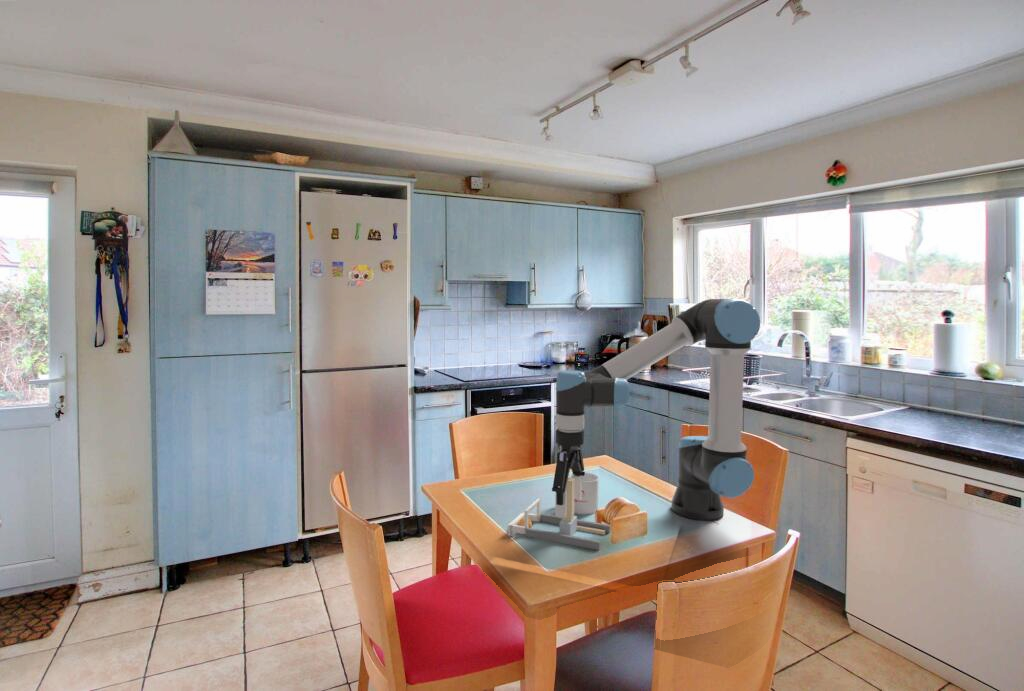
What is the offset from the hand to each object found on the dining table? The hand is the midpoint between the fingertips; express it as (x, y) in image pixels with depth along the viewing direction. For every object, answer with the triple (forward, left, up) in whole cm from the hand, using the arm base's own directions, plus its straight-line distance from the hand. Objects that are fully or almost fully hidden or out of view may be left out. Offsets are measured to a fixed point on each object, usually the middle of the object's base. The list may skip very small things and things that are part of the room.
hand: (568, 507), depth 146 cm
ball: (+13, 0, -7) cm, 14 cm away
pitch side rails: (0, 0, -9) cm, 9 cm away
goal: (+13, 0, -9) cm, 16 cm away
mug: (+3, -19, -9) cm, 21 cm away
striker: (0, 0, -7) cm, 7 cm away
